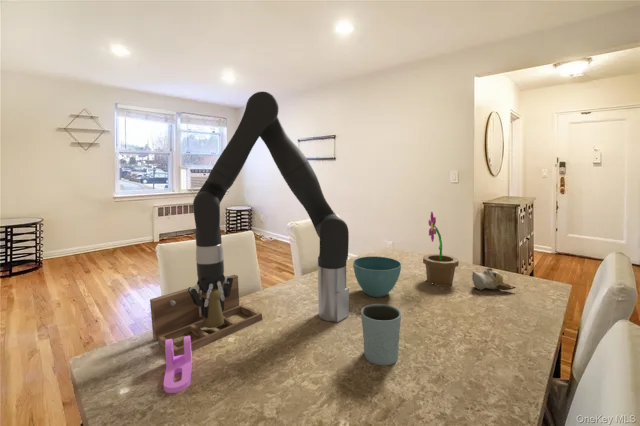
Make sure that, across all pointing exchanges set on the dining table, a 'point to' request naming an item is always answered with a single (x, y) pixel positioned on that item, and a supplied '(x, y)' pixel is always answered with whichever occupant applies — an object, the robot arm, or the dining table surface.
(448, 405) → the dining table surface
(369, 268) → the teal bowl
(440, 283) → the flowerpot
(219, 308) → the olive bulbous cylinder
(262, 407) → the dining table surface
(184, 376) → the bracket
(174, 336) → the wooden peg rack
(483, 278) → the ceramic sculpture
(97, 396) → the dining table surface
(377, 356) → the light blue cup
